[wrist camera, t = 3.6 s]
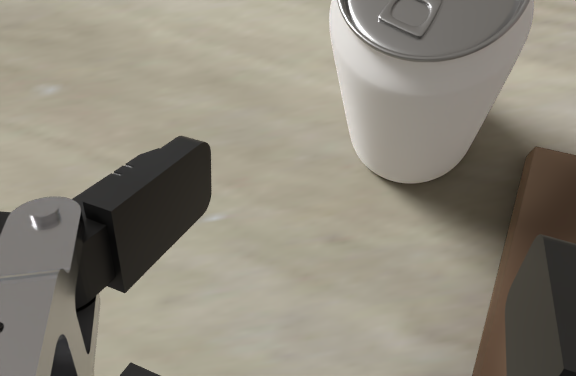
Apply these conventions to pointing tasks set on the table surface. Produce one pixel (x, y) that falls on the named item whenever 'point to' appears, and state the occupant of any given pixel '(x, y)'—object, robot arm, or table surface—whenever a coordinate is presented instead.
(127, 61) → the table surface
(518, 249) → the socket board
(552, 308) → the robot arm
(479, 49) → the can
